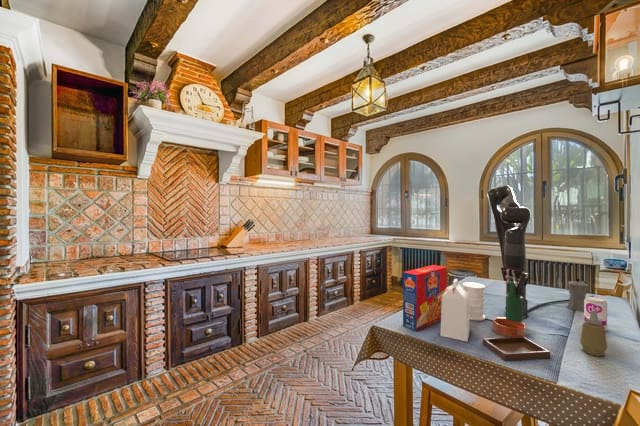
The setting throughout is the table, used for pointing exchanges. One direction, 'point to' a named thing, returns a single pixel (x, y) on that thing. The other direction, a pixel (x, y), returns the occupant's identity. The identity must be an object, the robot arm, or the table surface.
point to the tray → (516, 348)
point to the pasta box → (423, 296)
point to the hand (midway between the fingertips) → (514, 293)
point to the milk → (455, 313)
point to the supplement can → (597, 305)
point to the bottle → (514, 305)
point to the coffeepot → (577, 294)
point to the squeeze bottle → (593, 335)
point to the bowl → (509, 327)
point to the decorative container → (475, 300)
